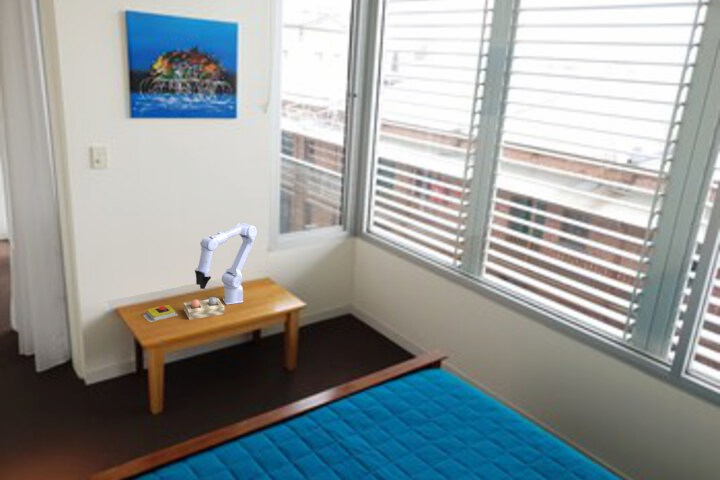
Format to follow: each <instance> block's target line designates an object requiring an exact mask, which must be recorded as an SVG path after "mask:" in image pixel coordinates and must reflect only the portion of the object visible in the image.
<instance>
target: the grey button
mask: <svg viewBox="0 0 720 480" xmlns="http://www.w3.org/2000/svg"><path fill="white" fill-rule="evenodd" d="M217 298H218V297H216V296H210V297H208V299H209V306H215V305H217Z"/></svg>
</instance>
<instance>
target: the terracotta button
mask: <svg viewBox="0 0 720 480" xmlns="http://www.w3.org/2000/svg"><path fill="white" fill-rule="evenodd" d="M199 301H200V299H198V298H197V299H196V298H194V299H192V300H190V302H191V309H195V308H199Z"/></svg>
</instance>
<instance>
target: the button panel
mask: <svg viewBox="0 0 720 480" xmlns="http://www.w3.org/2000/svg"><path fill="white" fill-rule="evenodd" d="M216 298H217V305H215V306H209V298H208V299H203V300H201V299H200V300H199V308H195V309H191V301H186V302H183V311H184V312H185V314H186V316H187V318H188V320H195V319H201V318H202V319H203V318H207V317H208V318H209V317H214V316H221V315H225V313H226V312H225V305H224V304H223V303H222V301H221V300H220V298H218V297H216Z"/></svg>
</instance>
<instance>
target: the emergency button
mask: <svg viewBox="0 0 720 480" xmlns="http://www.w3.org/2000/svg"><path fill="white" fill-rule="evenodd" d="M177 316H179V314H178V313H177V312H176V311H175V309H174V308H172V306H170V305H169V304H166V305H162V306H161V305H160V306H156V307H152V308H148V309H147V311H146V313H145V314H143V317H144V319H146V320H147V321H148V322H149V323H152V322H157V321H161V320H165V319H169V318H172V317H177Z"/></svg>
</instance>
